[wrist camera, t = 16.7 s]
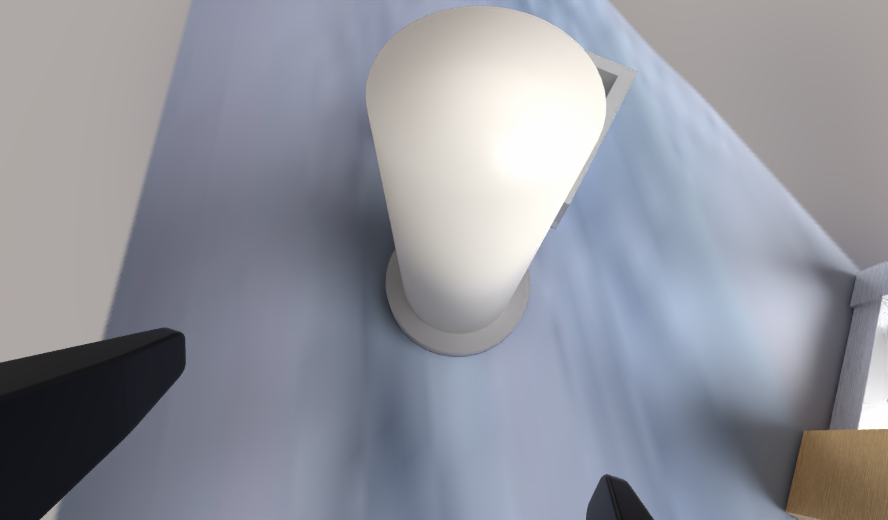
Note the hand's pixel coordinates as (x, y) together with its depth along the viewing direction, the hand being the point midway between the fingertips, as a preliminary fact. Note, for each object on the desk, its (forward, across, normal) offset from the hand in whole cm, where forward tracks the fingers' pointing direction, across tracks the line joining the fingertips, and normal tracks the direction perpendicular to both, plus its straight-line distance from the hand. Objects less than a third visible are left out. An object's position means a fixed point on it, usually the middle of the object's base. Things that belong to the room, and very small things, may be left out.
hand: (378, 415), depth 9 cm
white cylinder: (+12, 0, +3) cm, 13 cm away
